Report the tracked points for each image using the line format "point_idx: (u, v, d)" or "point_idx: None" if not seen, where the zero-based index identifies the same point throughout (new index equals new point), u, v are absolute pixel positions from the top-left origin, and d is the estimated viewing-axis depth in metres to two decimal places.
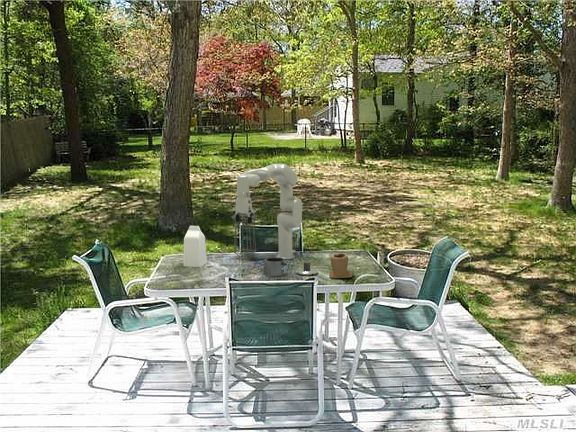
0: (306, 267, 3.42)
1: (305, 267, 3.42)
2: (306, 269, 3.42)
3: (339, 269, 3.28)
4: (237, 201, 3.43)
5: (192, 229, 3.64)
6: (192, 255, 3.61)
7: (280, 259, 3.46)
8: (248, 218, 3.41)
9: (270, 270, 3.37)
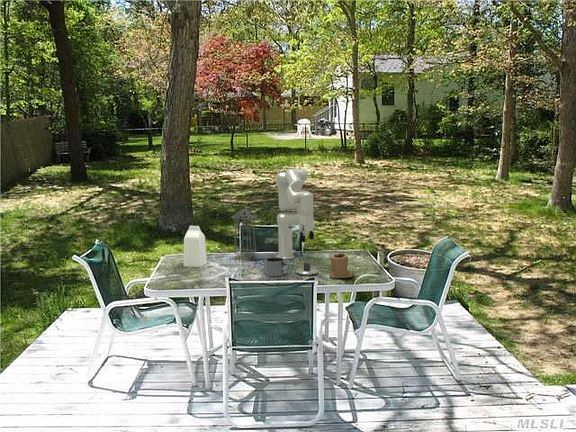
0: (306, 267, 3.42)
1: (305, 267, 3.42)
2: (306, 269, 3.42)
3: (339, 269, 3.28)
4: (307, 220, 3.35)
5: (192, 229, 3.64)
6: (192, 255, 3.61)
7: (280, 259, 3.46)
8: (313, 234, 3.43)
9: (270, 270, 3.37)
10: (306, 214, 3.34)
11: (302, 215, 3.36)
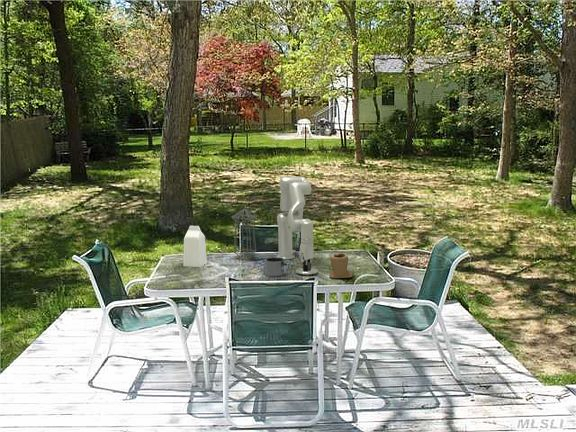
0: None
1: None
2: None
3: (339, 269, 3.28)
4: (307, 248, 3.38)
5: (192, 229, 3.64)
6: (192, 255, 3.61)
7: (280, 259, 3.46)
8: None
9: (270, 270, 3.37)
10: (306, 242, 3.37)
11: (302, 243, 3.38)
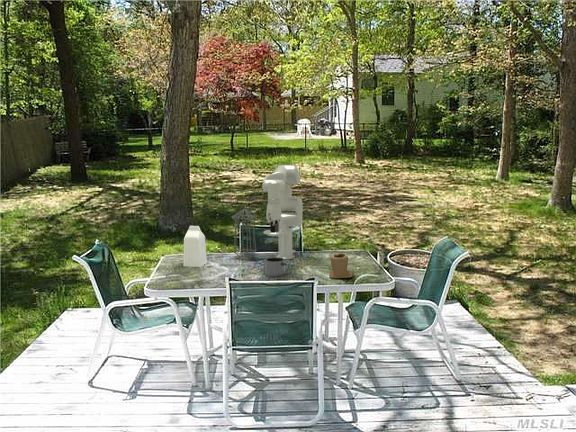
0: None
1: None
2: None
3: (339, 269, 3.28)
4: (274, 208, 3.33)
5: (192, 229, 3.64)
6: (192, 255, 3.61)
7: (280, 259, 3.46)
8: (278, 226, 3.39)
9: (270, 270, 3.37)
10: (273, 203, 3.33)
11: (269, 203, 3.34)
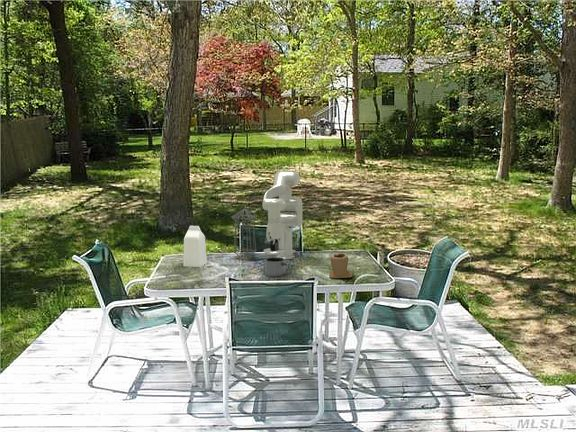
0: None
1: None
2: None
3: (339, 269, 3.28)
4: (274, 227, 3.35)
5: (192, 229, 3.64)
6: (192, 255, 3.61)
7: (280, 259, 3.46)
8: (278, 244, 3.41)
9: (270, 270, 3.37)
10: (273, 222, 3.34)
11: (269, 223, 3.36)
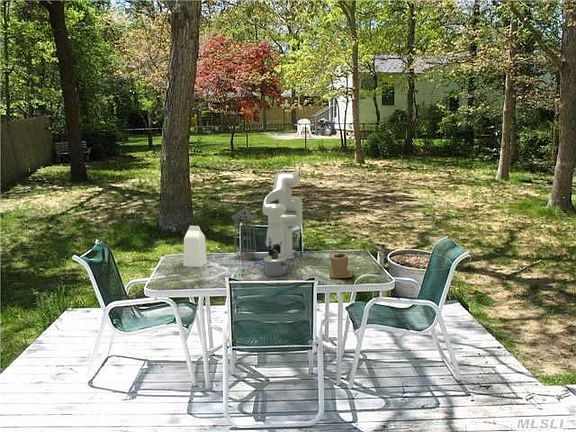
0: (274, 255, 3.40)
1: (273, 255, 3.40)
2: (274, 257, 3.40)
3: (339, 269, 3.28)
4: (274, 233, 3.36)
5: (192, 229, 3.64)
6: (192, 255, 3.61)
7: None
8: (280, 248, 3.43)
9: (270, 270, 3.37)
10: (273, 227, 3.35)
11: (269, 228, 3.36)
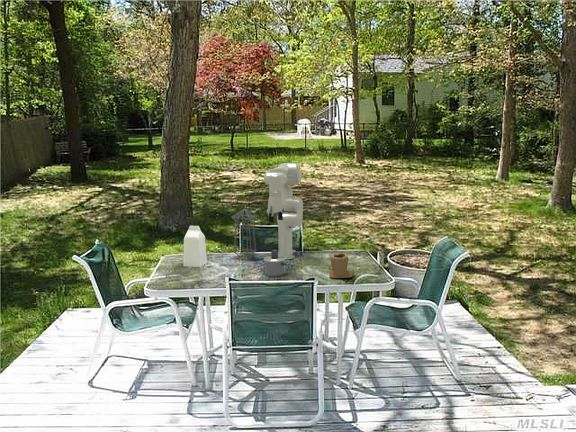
0: (274, 255, 3.40)
1: (273, 255, 3.40)
2: (274, 257, 3.40)
3: (339, 269, 3.28)
4: (275, 201, 3.40)
5: (192, 229, 3.64)
6: (192, 255, 3.61)
7: None
8: (282, 215, 3.49)
9: (270, 270, 3.37)
10: (274, 195, 3.39)
11: (270, 196, 3.41)
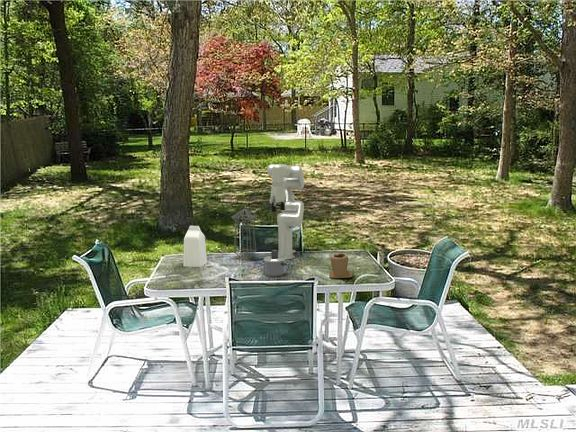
0: (274, 255, 3.40)
1: (273, 255, 3.40)
2: (274, 257, 3.40)
3: (339, 269, 3.28)
4: (278, 191, 3.52)
5: (192, 229, 3.64)
6: (192, 255, 3.61)
7: None
8: (284, 205, 3.61)
9: (270, 270, 3.37)
10: (277, 185, 3.52)
11: (273, 186, 3.53)
